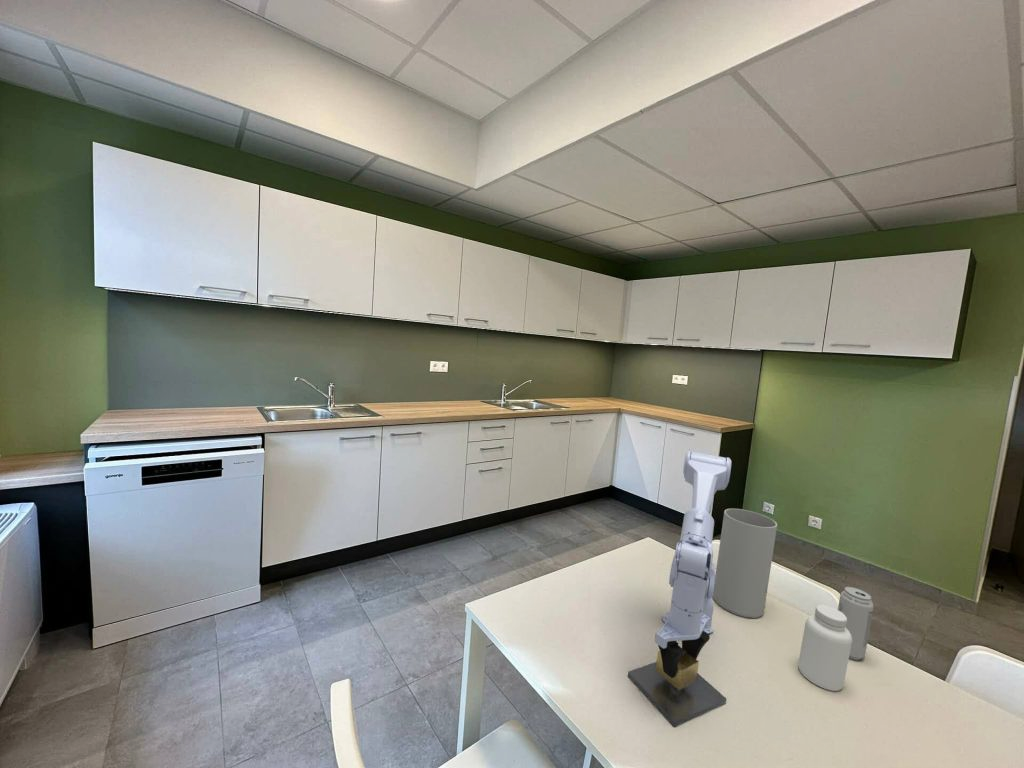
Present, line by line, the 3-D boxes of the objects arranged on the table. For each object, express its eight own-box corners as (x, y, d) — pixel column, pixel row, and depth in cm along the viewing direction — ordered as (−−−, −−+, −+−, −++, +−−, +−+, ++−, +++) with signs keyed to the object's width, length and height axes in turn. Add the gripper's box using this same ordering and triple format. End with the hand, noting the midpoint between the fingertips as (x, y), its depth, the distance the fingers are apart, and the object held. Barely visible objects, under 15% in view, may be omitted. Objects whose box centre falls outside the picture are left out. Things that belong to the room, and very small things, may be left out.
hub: (672, 661, 84) (675, 643, 84) (696, 680, 80) (698, 661, 79) (655, 670, 81) (658, 651, 81) (679, 690, 77) (681, 670, 76)
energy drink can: (830, 639, 101) (840, 582, 99) (862, 651, 97) (872, 592, 96) (832, 653, 96) (842, 592, 94) (866, 666, 92) (876, 604, 91)
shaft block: (676, 658, 89) (678, 641, 89) (725, 703, 78) (728, 684, 78) (627, 676, 83) (629, 657, 82) (674, 727, 72) (677, 706, 72)
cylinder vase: (707, 603, 111) (719, 515, 109) (718, 585, 121) (730, 505, 119) (759, 626, 103) (773, 532, 101) (767, 605, 113) (780, 519, 111)
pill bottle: (832, 697, 82) (843, 628, 81) (790, 668, 89) (800, 604, 88) (851, 685, 86) (862, 619, 85) (809, 659, 93) (819, 597, 92)
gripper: (691, 584, 86) (682, 644, 87) (645, 601, 78) (637, 666, 80) (723, 603, 80) (713, 667, 81) (677, 623, 73) (668, 694, 74)
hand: (678, 668), depth 80 cm, fingers closed on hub, 5 cm apart
